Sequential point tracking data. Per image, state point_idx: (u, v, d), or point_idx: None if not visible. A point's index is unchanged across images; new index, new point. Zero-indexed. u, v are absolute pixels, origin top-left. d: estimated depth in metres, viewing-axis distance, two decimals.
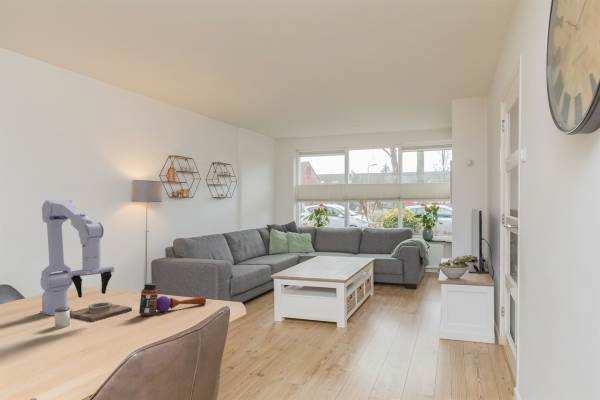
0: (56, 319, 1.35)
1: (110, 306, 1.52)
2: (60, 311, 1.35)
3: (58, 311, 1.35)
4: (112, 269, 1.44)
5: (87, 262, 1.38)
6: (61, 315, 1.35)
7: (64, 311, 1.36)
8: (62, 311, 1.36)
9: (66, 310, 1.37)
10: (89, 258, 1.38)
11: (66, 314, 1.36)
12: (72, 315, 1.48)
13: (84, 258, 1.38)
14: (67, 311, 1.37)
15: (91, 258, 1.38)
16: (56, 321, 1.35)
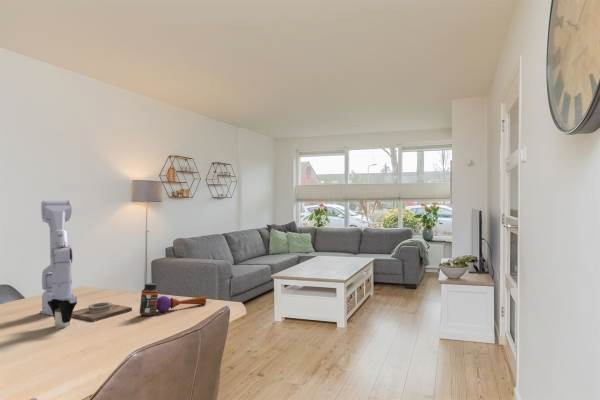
0: (56, 319, 1.35)
1: (110, 306, 1.52)
2: (60, 311, 1.35)
3: (58, 311, 1.35)
4: (70, 299, 1.33)
5: None
6: (61, 315, 1.35)
7: None
8: None
9: None
10: (52, 283, 1.36)
11: None
12: (72, 315, 1.48)
13: None
14: None
15: (52, 284, 1.35)
16: (56, 321, 1.35)
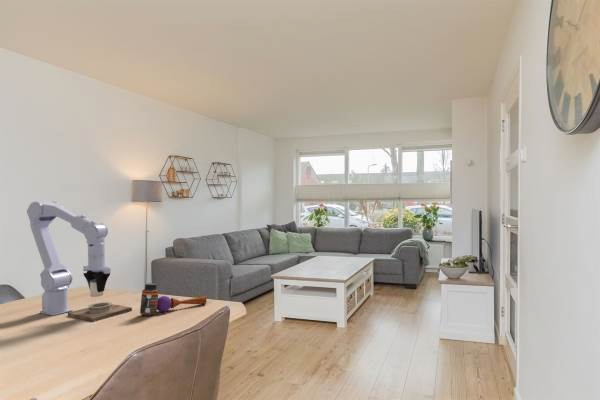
0: (91, 289, 1.49)
1: (110, 306, 1.52)
2: (95, 281, 1.49)
3: (93, 281, 1.49)
4: (104, 270, 1.47)
5: None
6: (96, 285, 1.49)
7: None
8: None
9: None
10: (88, 256, 1.50)
11: None
12: (72, 315, 1.48)
13: None
14: None
15: (88, 256, 1.49)
16: (91, 290, 1.49)
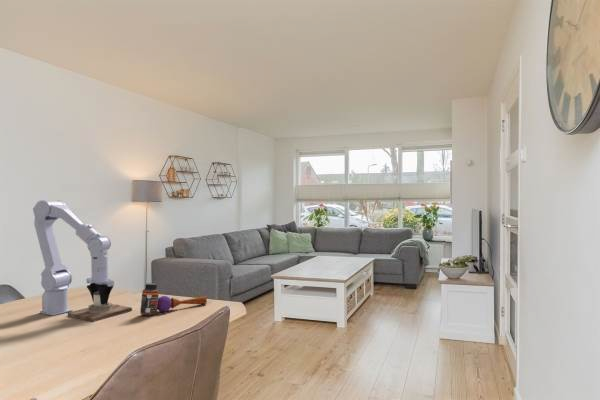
0: (95, 301, 1.51)
1: (110, 306, 1.52)
2: (98, 294, 1.51)
3: (97, 294, 1.50)
4: (108, 283, 1.48)
5: None
6: (99, 297, 1.51)
7: None
8: None
9: None
10: None
11: None
12: (72, 315, 1.48)
13: None
14: None
15: None
16: (95, 303, 1.51)
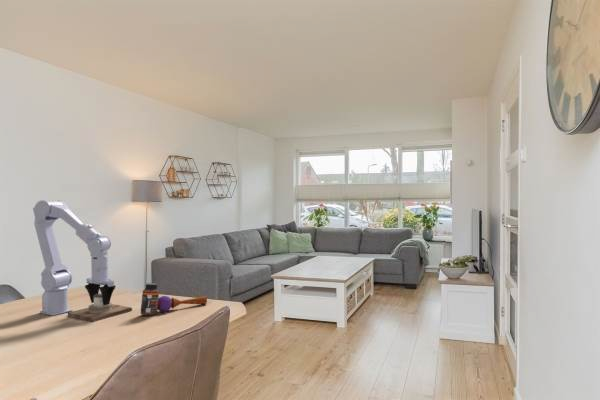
0: (95, 304, 1.51)
1: (110, 306, 1.52)
2: (99, 296, 1.51)
3: (97, 296, 1.50)
4: (108, 283, 1.48)
5: None
6: (100, 300, 1.51)
7: None
8: (100, 296, 1.51)
9: None
10: None
11: None
12: (72, 315, 1.48)
13: None
14: None
15: None
16: (95, 305, 1.51)
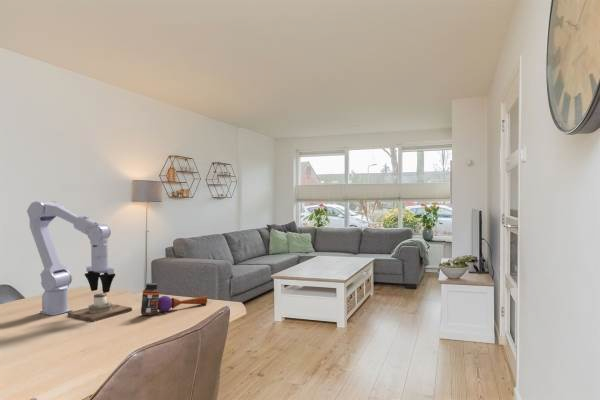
0: (95, 304, 1.51)
1: (110, 306, 1.52)
2: (99, 296, 1.51)
3: (97, 296, 1.50)
4: (108, 271, 1.49)
5: None
6: (100, 300, 1.51)
7: (102, 296, 1.51)
8: (101, 296, 1.51)
9: (104, 296, 1.52)
10: (91, 257, 1.51)
11: (104, 299, 1.52)
12: (72, 315, 1.48)
13: None
14: (105, 297, 1.52)
15: (91, 257, 1.51)
16: (95, 305, 1.51)
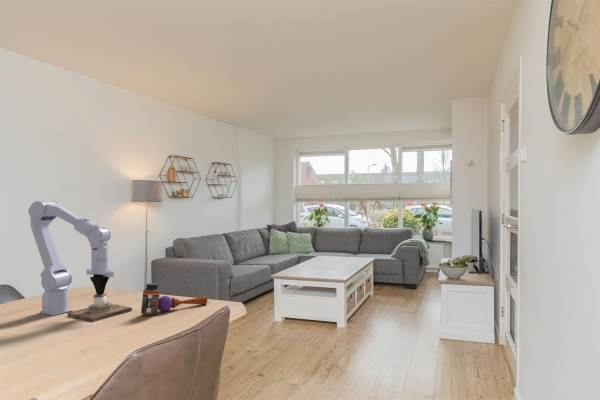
0: (95, 304, 1.51)
1: (110, 306, 1.52)
2: (99, 296, 1.51)
3: (97, 296, 1.51)
4: (108, 274, 1.49)
5: None
6: (99, 300, 1.51)
7: (102, 296, 1.51)
8: (100, 296, 1.51)
9: (104, 296, 1.52)
10: (91, 260, 1.51)
11: (104, 299, 1.52)
12: (72, 315, 1.48)
13: None
14: (104, 296, 1.52)
15: (91, 260, 1.51)
16: (95, 305, 1.51)
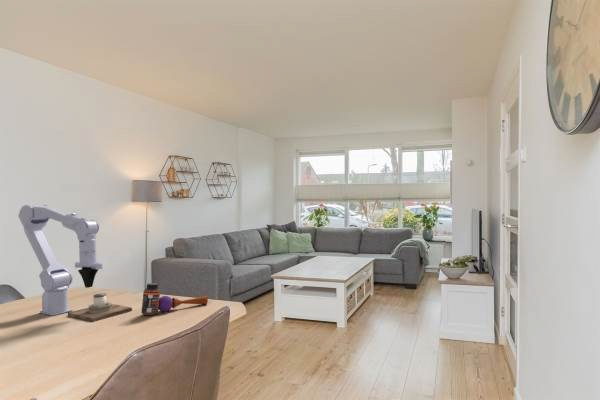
0: (95, 304, 1.51)
1: (110, 306, 1.52)
2: (99, 296, 1.51)
3: (97, 296, 1.50)
4: (96, 266, 1.47)
5: None
6: (100, 300, 1.51)
7: (102, 296, 1.51)
8: (100, 296, 1.51)
9: (104, 296, 1.52)
10: (79, 252, 1.50)
11: (104, 299, 1.52)
12: (72, 315, 1.48)
13: None
14: (104, 296, 1.52)
15: (79, 253, 1.50)
16: (95, 305, 1.51)
